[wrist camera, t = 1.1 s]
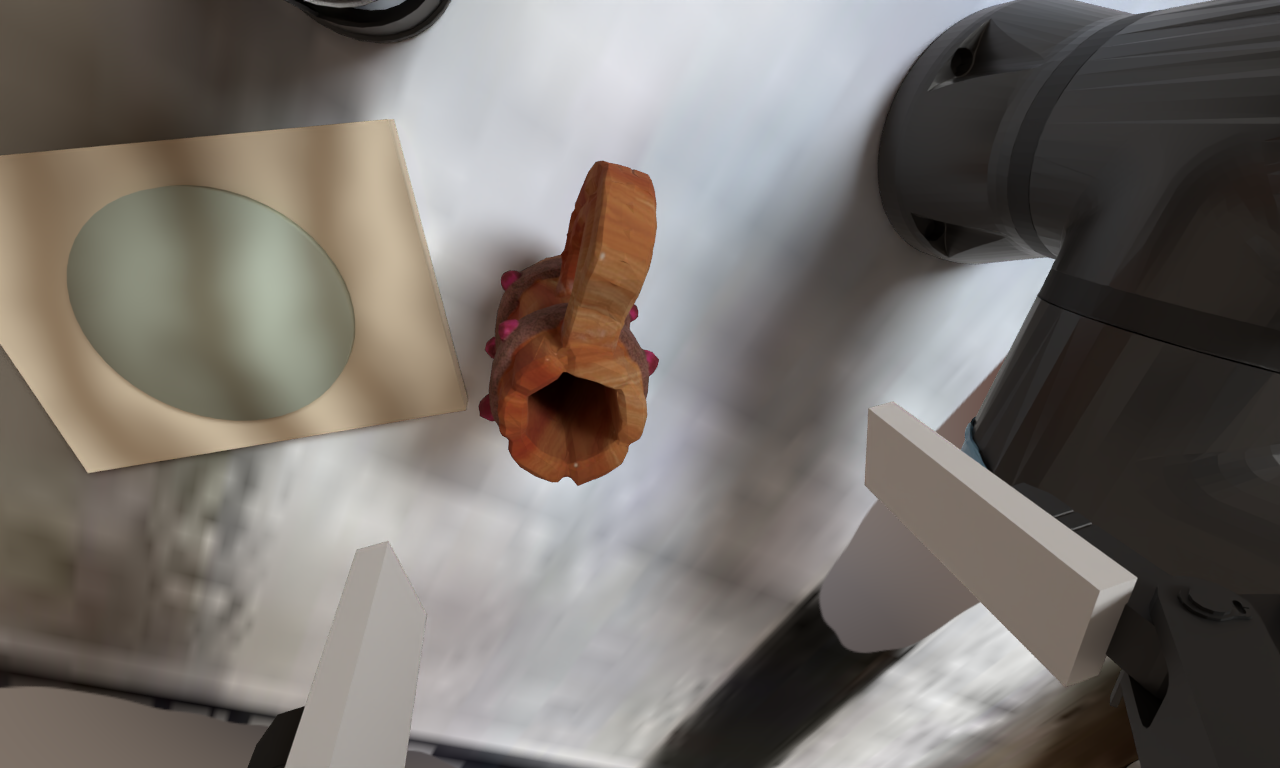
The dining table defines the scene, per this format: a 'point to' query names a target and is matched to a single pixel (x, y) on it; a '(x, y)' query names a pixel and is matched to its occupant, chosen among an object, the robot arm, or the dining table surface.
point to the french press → (374, 18)
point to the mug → (578, 337)
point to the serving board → (222, 291)
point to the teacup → (1135, 765)
